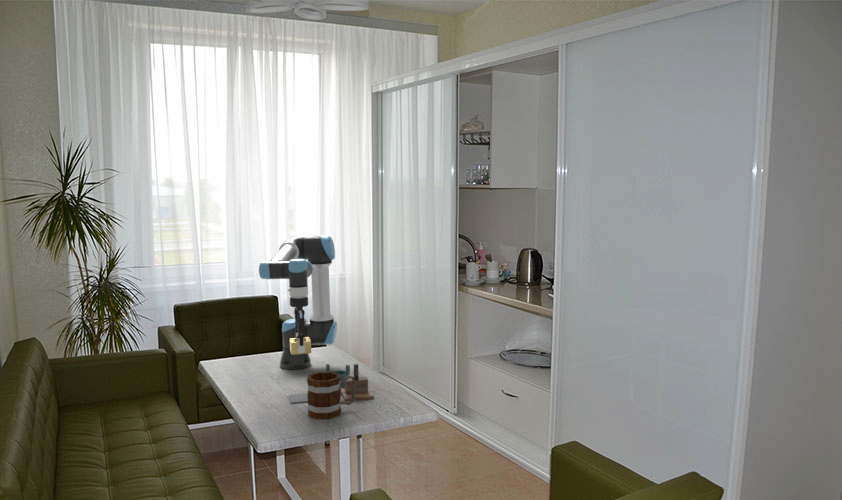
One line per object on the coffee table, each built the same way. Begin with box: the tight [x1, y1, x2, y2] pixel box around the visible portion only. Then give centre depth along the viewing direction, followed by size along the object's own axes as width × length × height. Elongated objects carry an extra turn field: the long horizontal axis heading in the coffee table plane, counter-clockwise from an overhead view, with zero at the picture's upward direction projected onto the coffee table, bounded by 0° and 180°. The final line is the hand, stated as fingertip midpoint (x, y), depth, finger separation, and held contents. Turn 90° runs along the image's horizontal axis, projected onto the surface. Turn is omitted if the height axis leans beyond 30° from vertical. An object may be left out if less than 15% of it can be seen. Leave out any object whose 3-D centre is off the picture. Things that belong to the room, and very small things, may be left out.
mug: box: [306, 371, 356, 420], centre depth 261 cm, size 20×14×15 cm
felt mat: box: [288, 392, 308, 405], centre depth 278 cm, size 10×10×1 cm
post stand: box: [340, 363, 375, 402], centre depth 282 cm, size 14×12×13 cm
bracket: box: [325, 363, 351, 388], centre depth 298 cm, size 9×9×9 cm
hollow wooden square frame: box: [290, 337, 312, 355], centre depth 276 cm, size 8×8×5 cm
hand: (300, 350), depth 276 cm, fingers closed on hollow wooden square frame, 8 cm apart
